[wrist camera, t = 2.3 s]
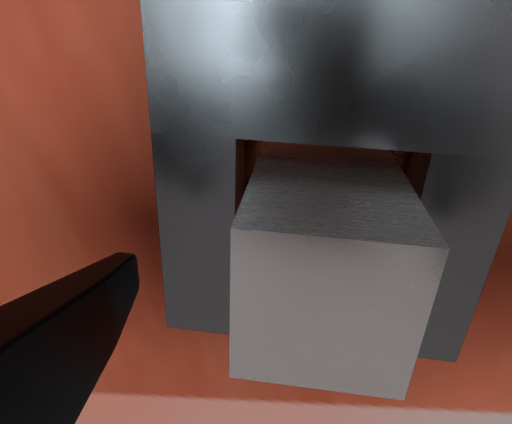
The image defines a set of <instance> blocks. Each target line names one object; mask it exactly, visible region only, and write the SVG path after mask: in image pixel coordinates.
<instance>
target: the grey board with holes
mask: <svg viewBox="0 0 512 424" xmlns="http://www.w3.org/2000/svg"><path fill="white" fill-rule="evenodd" d="M140 5H141V17H142V29H143V41H144V53H145V66H146V78H147V90H148V102H149V114H150V126H151V138H152V150H153V163H154V175H155V187H156V199H157V211H158V223H159V235H160V247H161V260H162V272H163V284H164V296H165V308H166V320H167V327H172V328H180V329H188V330H197V331H205V332H213V333H221V334H230V241H231V226H232V223H233V221H234V218H235V216H236V213H237V210H238V208H239V205H240V203H241V200H242V198H243V195H244V192H245V159H246V140H257V141H271V142H285V143H299V144H312V145H326V146H340V147H353V148H367V149H381V150H395V151H408V152H410V155H409V160H408V164H407V169H406V174H405V176H406V177H407V179H408V181H409V182H410V184H411V185H412V187H413V189H414V190H415V192H416V194H417V195H418V197H419V199H420V200H421V202H422V204H423V205H424V207H425V209H426V210H427V212H428V214H429V215H430V217H431V219H432V220H433V222H434V224H435V225H436V227H437V229H438V230H439V232H440V234H441V235H442V237H443V239H444V240H445V242H446V244H447V245H448V247H449V248H450V250H449V253H448V257H447V260H446V263H445V267H444V270H443V273H442V277H441V280H440V283H439V287H438V290H437V293H436V296H435V300H434V303H433V306H432V310H431V313H430V316H429V320H428V323H427V326H426V329H425V333H424V336H423V339H422V343H421V346H420V349H419V353H418V356H417V357H419V358H428V359H436V360H444V361H452V362H456V360H457V358H458V355H459V352H460V349H461V347H462V344H463V341H464V338H465V336H466V333H467V330H468V327H469V325H470V322H471V319H472V317H473V314H474V311H475V308H476V306H477V303H478V300H479V297H480V295H481V292H482V289H483V287H484V284H485V281H486V278H487V276H488V273H489V270H490V267H491V265H492V262H493V259H494V257H495V254H496V251H497V248H498V246H499V243H500V240H501V237H502V235H503V232H504V229H505V226H506V224H507V221H508V218H509V216H510V213H511V210H512V0H140Z"/></svg>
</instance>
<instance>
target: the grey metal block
mask: <svg viewBox="0 0 512 424" xmlns="http://www.w3.org/2000/svg"><path fill="white" fill-rule="evenodd" d="M449 250H450V248H449V247H448V245H447V244H446V242H445V240H444V239H443V237H442V235H441V234H440V232H439V230H438V229H437V227H436V225H435V224H434V222H433V220H432V219H431V217H430V215H429V214H428V212H427V210H426V209H425V207H424V205H423V204H422V202H421V200H420V199H419V197H418V195H417V194H416V192H415V190H414V189H413V187H412V185H411V184H410V182H409V181H408V179H407V177H406V176H405V174H404V172H403V171H402V169H401V167H400V166H399V164H398V162H397V161H396V159H395V157H394V156H393V154H392V152H391V151H390V150H379V149H365V148H351V147H338V146H324V145H310V144H296V143H283V142H269V141H264V144H263V146H262V149H261V151H260V154H259V156H258V159H257V162H256V164H255V167H254V169H253V172H252V174H251V177H250V180H249V182H248V185H247V187H246V190H245V192H244V195H243V198H242V200H241V203H240V205H239V208H238V210H237V213H236V216H235V218H234V221H233V223H232V226H231V241H230V335H229V377H230V378H238V379H245V380H253V381H260V382H268V383H275V384H283V385H290V386H298V387H305V388H313V389H320V390H328V391H335V392H343V393H351V394H358V395H366V396H373V397H381V398H388V399H396V400H403V401H404V399H405V396H406V392H407V389H408V386H409V382H410V379H411V376H412V372H413V369H414V366H415V363H416V359H417V356H418V353H419V349H420V346H421V343H422V339H423V336H424V333H425V329H426V326H427V323H428V320H429V316H430V313H431V310H432V306H433V303H434V300H435V296H436V293H437V290H438V287H439V283H440V280H441V277H442V273H443V270H444V267H445V263H446V260H447V257H448V253H449Z"/></svg>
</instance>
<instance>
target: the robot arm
mask: <svg viewBox="0 0 512 424" xmlns="http://www.w3.org/2000/svg"><path fill="white" fill-rule="evenodd" d="M138 289H139V274H138V265H137V258H136V256H135V255H134V254H132V253H123V252H118V253H115V254H113V255H111V256H109V257H106V258H104V259H102V260H100V261H98V262H96V263H93V264H91V265H89V266H87V267H85V268H82V269H80V270H78V271H76V272H74V273H72V274H69V275H67V276H65V277H63V278H61V279H58V280H56V281H54V282H52V283H50V284H48V285H45V286H43V287H41V288H39V289H37V290H35V291H32V292H30V293H28V294H26V295H24V296H21V297H19V298H17V299H15V300H13V301H11V302H8V303H6V304H4V305H2V306H0V424H75V422H76V420H77V418H78V416H79V415H80V413H81V411H82V409H83V407H84V405H85V403H86V402H87V400H88V398H89V396H90V394H91V392H92V390H93V388H94V387H95V385H96V383H97V381H98V379H99V377H100V375H101V373H102V372H103V370H104V368H105V366H106V364H107V362H108V360H109V358H110V357H111V355H112V353H113V351H114V349H115V347H116V345H117V342H118V340H119V338H120V335H121V333H122V330H123V328H124V325H125V323H126V320H127V318H128V315H129V313H130V310H131V308H132V305H133V302H134V300H135V297H136V295H137V292H138Z"/></svg>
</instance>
